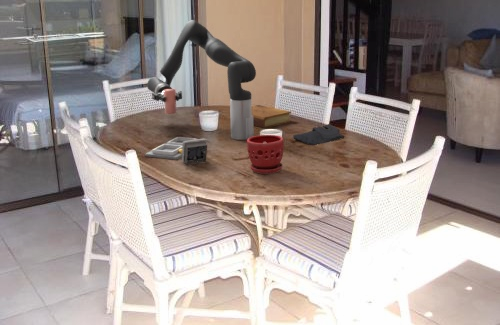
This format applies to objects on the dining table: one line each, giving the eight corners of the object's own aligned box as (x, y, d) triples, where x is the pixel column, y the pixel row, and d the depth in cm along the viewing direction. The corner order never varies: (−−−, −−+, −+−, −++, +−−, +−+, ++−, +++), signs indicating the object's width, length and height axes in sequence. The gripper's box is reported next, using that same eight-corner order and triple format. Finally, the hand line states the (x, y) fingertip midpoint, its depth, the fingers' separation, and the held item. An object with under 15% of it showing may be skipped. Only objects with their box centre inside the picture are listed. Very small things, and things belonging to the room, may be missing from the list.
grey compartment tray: (203, 143, 242) (203, 138, 242) (176, 159, 221) (176, 153, 220) (174, 141, 247) (174, 135, 247) (145, 156, 226) (144, 150, 225)
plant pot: (281, 164, 213) (281, 133, 210) (285, 175, 201) (285, 142, 197) (246, 165, 213) (246, 134, 210) (248, 176, 201) (247, 143, 197)
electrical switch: (205, 159, 221) (204, 136, 218) (209, 164, 217) (209, 141, 213) (181, 162, 218) (181, 139, 214) (185, 167, 213) (185, 144, 210)
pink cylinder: (178, 111, 251) (177, 89, 248) (173, 114, 247) (171, 91, 244) (168, 111, 253) (167, 88, 250) (163, 113, 249) (161, 90, 246)
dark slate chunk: (287, 140, 248) (287, 129, 247) (322, 131, 261) (323, 121, 260) (312, 147, 237) (312, 136, 235) (348, 138, 250) (348, 127, 248)
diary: (231, 121, 283) (230, 110, 282) (258, 116, 295) (258, 105, 294) (263, 129, 267) (263, 117, 266) (291, 122, 279) (291, 111, 278)
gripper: (147, 85, 258) (154, 91, 242) (179, 83, 262) (187, 89, 246) (149, 101, 260) (155, 108, 244) (180, 99, 264) (188, 106, 249)
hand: (171, 99), depth 246 cm, fingers closed on pink cylinder, 5 cm apart
